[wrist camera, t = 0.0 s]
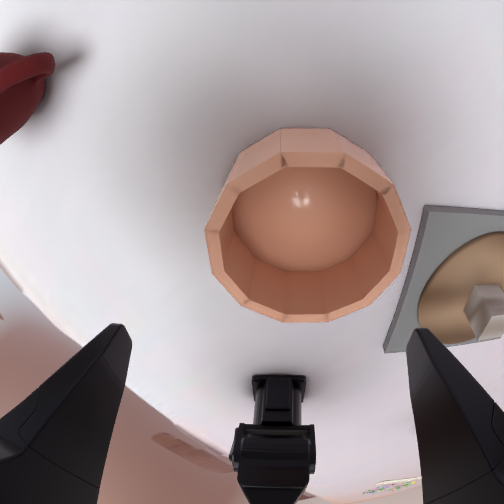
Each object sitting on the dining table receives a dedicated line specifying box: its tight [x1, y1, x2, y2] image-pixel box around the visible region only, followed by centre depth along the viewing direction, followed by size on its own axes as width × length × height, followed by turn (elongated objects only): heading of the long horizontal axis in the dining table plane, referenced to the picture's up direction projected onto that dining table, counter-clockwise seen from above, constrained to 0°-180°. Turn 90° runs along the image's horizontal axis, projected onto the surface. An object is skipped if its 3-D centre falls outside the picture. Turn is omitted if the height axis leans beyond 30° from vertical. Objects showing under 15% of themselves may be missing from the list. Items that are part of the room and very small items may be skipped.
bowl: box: [205, 128, 411, 322], centre depth 20 cm, size 12×12×6 cm
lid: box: [417, 231, 504, 344], centre depth 22 cm, size 14×14×5 cm
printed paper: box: [363, 477, 422, 494], centre depth 85 cm, size 30×30×2 cm
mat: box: [383, 206, 504, 353], centre depth 25 cm, size 17×17×1 cm
